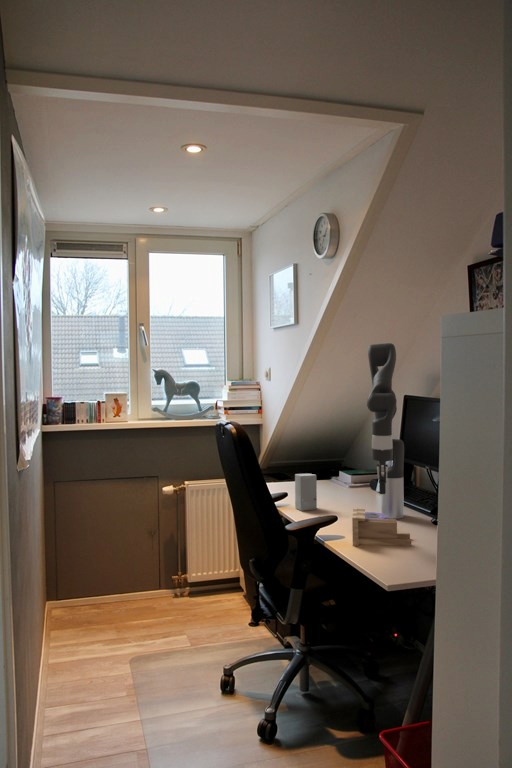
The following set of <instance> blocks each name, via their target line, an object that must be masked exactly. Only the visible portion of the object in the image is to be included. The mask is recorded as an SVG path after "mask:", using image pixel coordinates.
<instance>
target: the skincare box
mask: <svg viewBox="0 0 512 768" xmlns="http://www.w3.org/2000/svg"><path fill="white" fill-rule="evenodd" d="M317 482H318V481H317V474H312V473H295V474H294V495H295V496H294V498H295V500H294V501H295V502H294V503H295V505H294V508H295V509H296V510H299V511H301V512H304V511H306V512H307V511H312V510H318V507H317V505H318V503H317V502H318V501H317V499H318V498H317V496H318V495H317V493H318V492H317V488H318V487H317Z"/></svg>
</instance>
